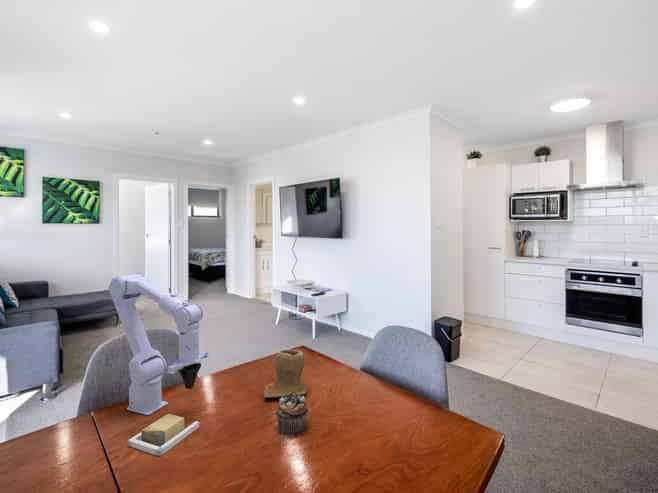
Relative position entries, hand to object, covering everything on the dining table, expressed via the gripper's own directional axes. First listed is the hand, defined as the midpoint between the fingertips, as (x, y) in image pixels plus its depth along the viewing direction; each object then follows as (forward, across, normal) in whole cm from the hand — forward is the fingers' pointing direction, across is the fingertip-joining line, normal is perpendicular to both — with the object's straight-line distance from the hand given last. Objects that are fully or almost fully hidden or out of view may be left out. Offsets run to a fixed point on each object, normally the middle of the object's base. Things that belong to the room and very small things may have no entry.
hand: (189, 387), depth 106 cm
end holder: (+9, -10, -1) cm, 13 cm away
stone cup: (+10, +26, -20) cm, 34 cm away
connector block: (+10, -11, -1) cm, 14 cm away
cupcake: (+10, +8, -32) cm, 34 cm away
